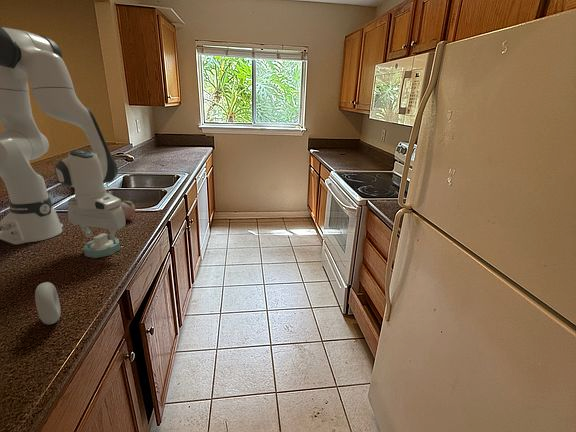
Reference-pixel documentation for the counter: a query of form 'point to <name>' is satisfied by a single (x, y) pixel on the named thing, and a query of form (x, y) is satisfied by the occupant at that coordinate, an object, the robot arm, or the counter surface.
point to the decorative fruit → (127, 208)
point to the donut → (47, 303)
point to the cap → (101, 242)
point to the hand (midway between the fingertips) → (100, 238)
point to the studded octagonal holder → (101, 252)
